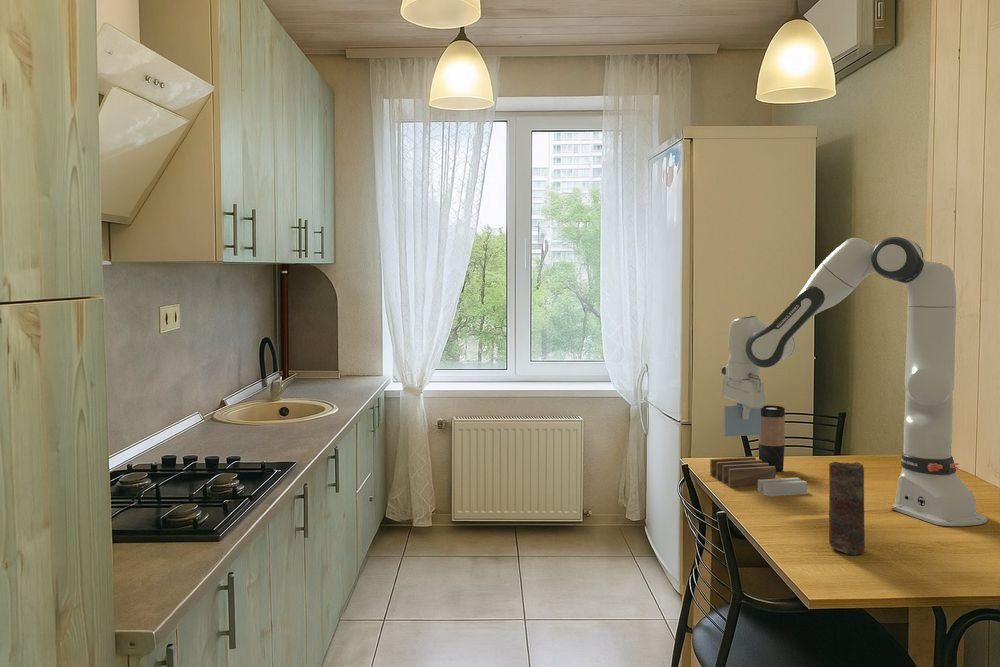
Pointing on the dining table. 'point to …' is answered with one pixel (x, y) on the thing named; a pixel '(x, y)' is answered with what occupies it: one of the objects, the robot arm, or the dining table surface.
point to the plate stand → (782, 486)
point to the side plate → (741, 421)
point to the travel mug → (772, 436)
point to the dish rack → (741, 471)
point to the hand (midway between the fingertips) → (742, 418)
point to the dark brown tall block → (846, 507)
